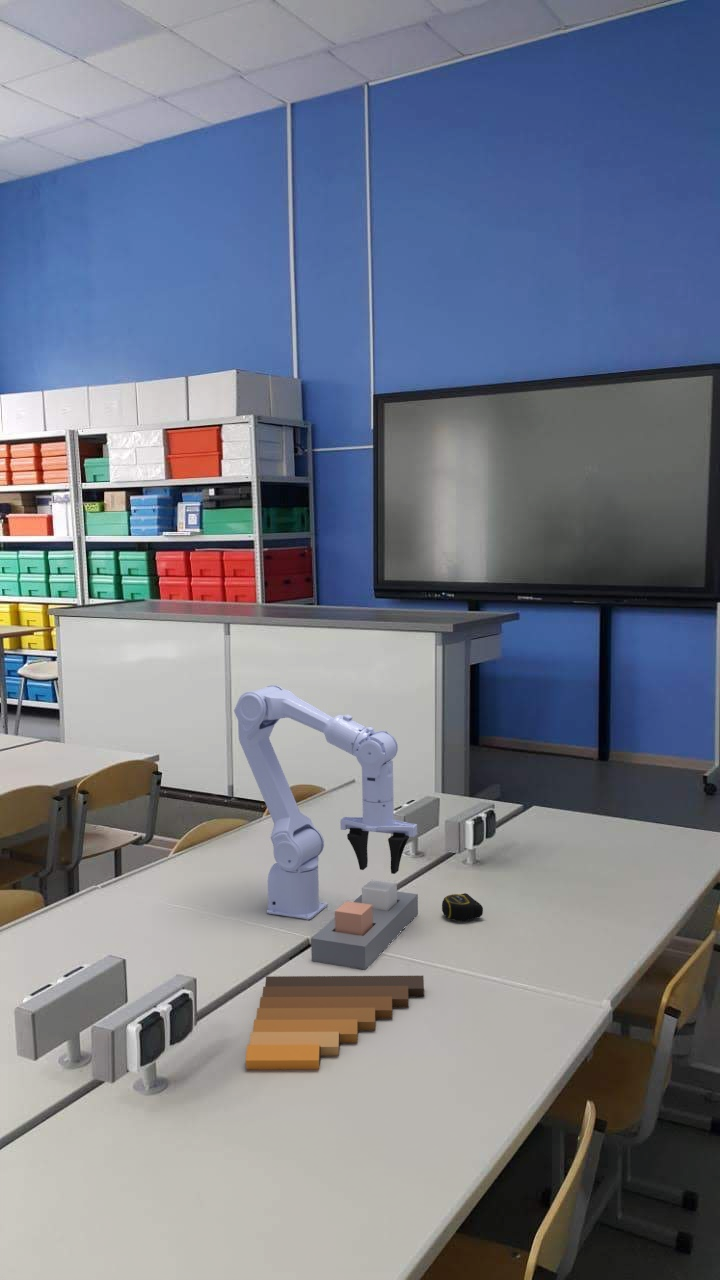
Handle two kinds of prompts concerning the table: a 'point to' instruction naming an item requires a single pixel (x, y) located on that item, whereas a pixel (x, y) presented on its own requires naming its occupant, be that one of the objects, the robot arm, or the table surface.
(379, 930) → the key panel
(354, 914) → the terracotta key
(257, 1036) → the pan flute
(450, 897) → the tape measure
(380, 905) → the white key
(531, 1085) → the table surface
